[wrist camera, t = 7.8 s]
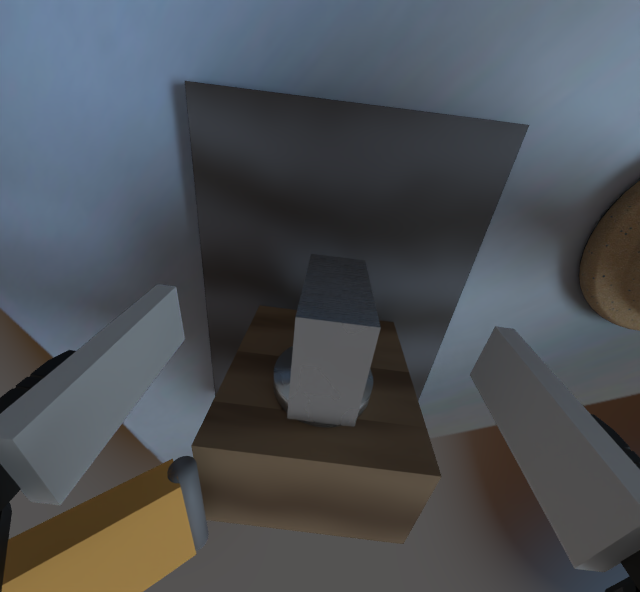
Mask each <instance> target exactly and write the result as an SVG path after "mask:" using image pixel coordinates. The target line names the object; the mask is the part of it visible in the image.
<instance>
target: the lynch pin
mask: <svg viewBox="0 0 640 592" xmlns="http://www.w3.org/2000/svg"><path fill="white" fill-rule="evenodd" d="M380 329H381V327H380V322H379V318H378V314H377V309H376V305H375V301H374V296H373V292H372V288H371V283H370V279H369V275H368V270H367V266H366V262H365V260H358V259H350V258H342V257H334V256H326V255H318V254H311V256H310V260H309V264H308V268H307V272H306V276H305V280H304V284H303V288H302V293H301V297H300V301H299V305H298V309H297V313H296V317H295V329H294V341H293V346H292V347H290V348H288V349H287V350H285V351H284V352H283V353H282V354H281V355H280V356H279V358H278V360H277V361H276V364H275V367H274V381H273V389H274V394H275V397H276V399H277V401H278V403H279V405H280V406H281V407H282V409H283V410H284V411H285V412H286V413H287V419H294V420H298V421H300V422H303V423H305V424H308V425H311V426H317V427H337V426H341V425H343V426H351V427H355V424H356V420H357V418H358V417H359V416H360V415H361V414H362V413H363V412H364V410H365V409H366V407H367V405H368V402H369V399H370V395H371V392H372V388H373V376H372V372H371V370H370V367H371V363H372V359H373V355H374V352H375V348H376V344H377V340H378V336H379V333H380Z"/></svg>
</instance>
